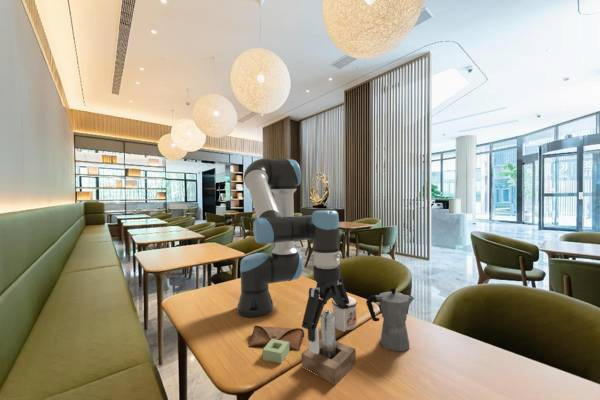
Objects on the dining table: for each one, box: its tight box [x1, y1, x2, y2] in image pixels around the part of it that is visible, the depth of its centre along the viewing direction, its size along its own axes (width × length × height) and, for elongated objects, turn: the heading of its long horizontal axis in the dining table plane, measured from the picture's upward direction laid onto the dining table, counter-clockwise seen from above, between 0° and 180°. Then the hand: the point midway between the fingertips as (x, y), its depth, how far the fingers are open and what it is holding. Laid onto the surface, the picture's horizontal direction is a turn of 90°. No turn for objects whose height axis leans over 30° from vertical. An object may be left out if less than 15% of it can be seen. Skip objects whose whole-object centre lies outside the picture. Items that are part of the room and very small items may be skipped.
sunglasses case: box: [247, 325, 305, 351], centre depth 85 cm, size 18×7×7 cm
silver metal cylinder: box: [320, 309, 336, 360], centre depth 72 cm, size 4×4×16 cm
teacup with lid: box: [331, 294, 358, 331], centre depth 95 cm, size 12×9×12 cm
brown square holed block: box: [301, 338, 357, 386], centre depth 72 cm, size 11×11×4 cm
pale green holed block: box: [262, 339, 290, 364], centre depth 77 cm, size 6×6×3 cm
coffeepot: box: [365, 287, 415, 353], centre depth 81 cm, size 15×9×18 cm, turn 90°
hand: (328, 340), depth 72 cm, fingers open, 13 cm apart
